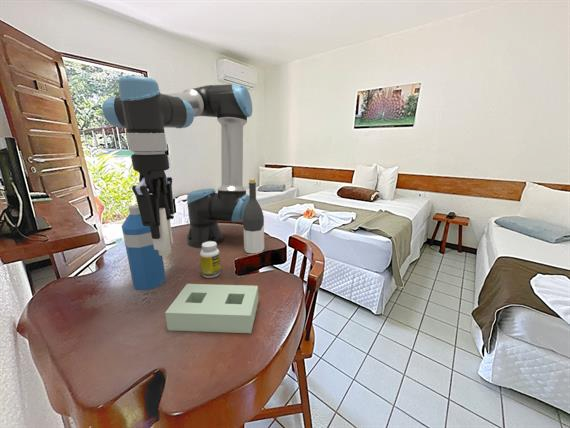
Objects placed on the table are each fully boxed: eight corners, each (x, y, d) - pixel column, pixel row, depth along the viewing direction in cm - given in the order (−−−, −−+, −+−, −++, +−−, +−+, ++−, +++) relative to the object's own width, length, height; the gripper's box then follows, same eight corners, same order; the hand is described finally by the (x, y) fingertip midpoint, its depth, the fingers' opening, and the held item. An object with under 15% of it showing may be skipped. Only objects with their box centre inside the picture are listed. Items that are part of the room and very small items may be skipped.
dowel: (162, 250, 65) (155, 207, 61) (173, 250, 65) (167, 207, 61) (156, 255, 62) (148, 210, 59) (168, 256, 62) (161, 211, 59)
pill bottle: (215, 279, 79) (213, 248, 76) (198, 277, 80) (195, 246, 77) (224, 270, 85) (222, 241, 82) (207, 268, 86) (205, 239, 83)
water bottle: (172, 278, 80) (162, 204, 73) (146, 293, 72) (131, 212, 64) (152, 271, 84) (141, 201, 76) (125, 286, 75) (109, 208, 68)
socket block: (188, 299, 69) (186, 283, 68) (258, 301, 69) (258, 285, 67) (167, 330, 58) (165, 312, 57) (251, 333, 57) (250, 315, 56)
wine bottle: (245, 248, 102) (242, 177, 94) (264, 248, 103) (263, 177, 94) (243, 257, 95) (239, 180, 86) (263, 257, 95) (262, 180, 86)
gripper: (152, 151, 64) (165, 234, 71) (108, 155, 48) (129, 260, 55) (181, 151, 63) (190, 234, 70) (145, 155, 48) (162, 261, 55)
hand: (163, 245), depth 63 cm, fingers closed on dowel, 3 cm apart
